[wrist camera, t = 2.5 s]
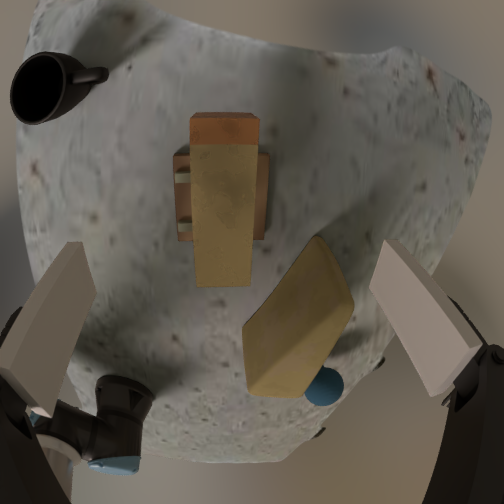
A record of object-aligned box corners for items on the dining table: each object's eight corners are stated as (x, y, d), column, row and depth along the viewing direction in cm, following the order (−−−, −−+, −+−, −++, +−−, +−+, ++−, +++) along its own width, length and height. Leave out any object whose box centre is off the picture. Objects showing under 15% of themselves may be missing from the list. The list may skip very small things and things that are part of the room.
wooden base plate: (179, 235, 41) (174, 258, 36) (174, 153, 34) (166, 165, 29) (262, 234, 42) (268, 257, 37) (268, 153, 36) (276, 165, 31)
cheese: (290, 225, 42) (321, 291, 29) (343, 243, 45) (385, 306, 32) (238, 328, 52) (246, 398, 40) (285, 336, 55) (301, 401, 42)
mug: (126, 108, 30) (97, 115, 22) (49, 117, 29) (10, 130, 20) (130, 47, 26) (102, 36, 18) (51, 62, 24) (11, 61, 16)
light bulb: (308, 344, 57) (323, 392, 47) (339, 348, 59) (356, 392, 49) (290, 367, 61) (300, 412, 51) (320, 370, 63) (333, 412, 53)
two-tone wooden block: (242, 238, 35) (250, 286, 27) (200, 239, 34) (196, 287, 26) (247, 110, 27) (259, 118, 19) (198, 110, 26) (189, 118, 19)
